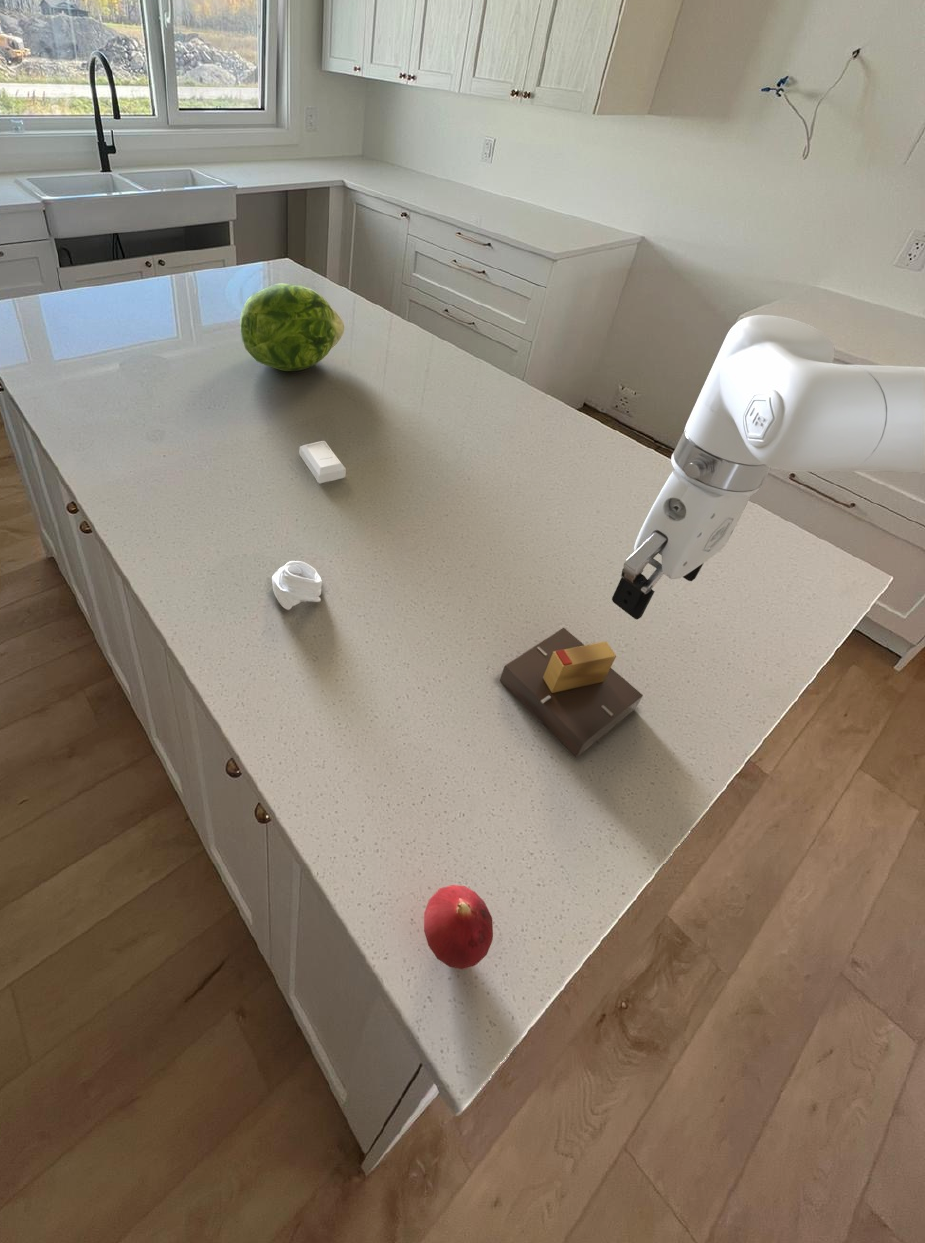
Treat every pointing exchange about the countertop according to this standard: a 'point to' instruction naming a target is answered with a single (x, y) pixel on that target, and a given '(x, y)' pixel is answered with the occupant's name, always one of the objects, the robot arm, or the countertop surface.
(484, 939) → the onion
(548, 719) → the tap deck
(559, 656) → the tap handle
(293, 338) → the lettuce
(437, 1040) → the countertop surface
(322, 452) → the soap bar
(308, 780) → the countertop surface
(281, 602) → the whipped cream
